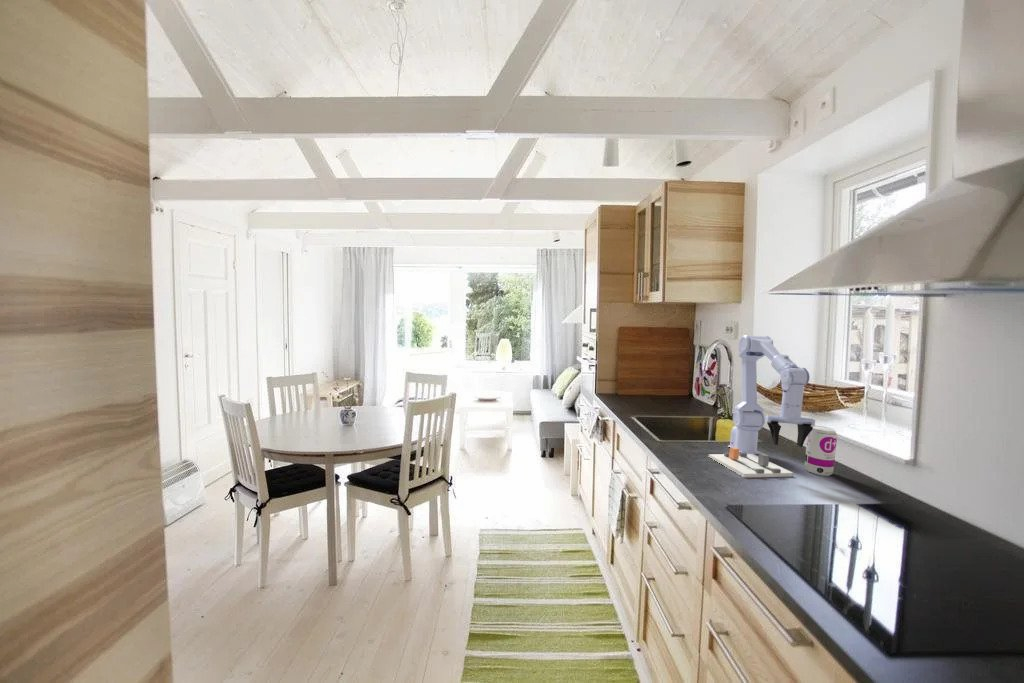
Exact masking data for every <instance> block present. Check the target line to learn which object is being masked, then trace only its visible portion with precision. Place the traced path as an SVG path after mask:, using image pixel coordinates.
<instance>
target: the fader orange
mask: <svg viewBox="0 0 1024 683" xmlns="http://www.w3.org/2000/svg"><path fill="white" fill-rule="evenodd" d="M728 453H729V457H730V458H732V459H739V453H740V452H739V449H738V448H736V447H730V448H729V452H728Z"/></svg>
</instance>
